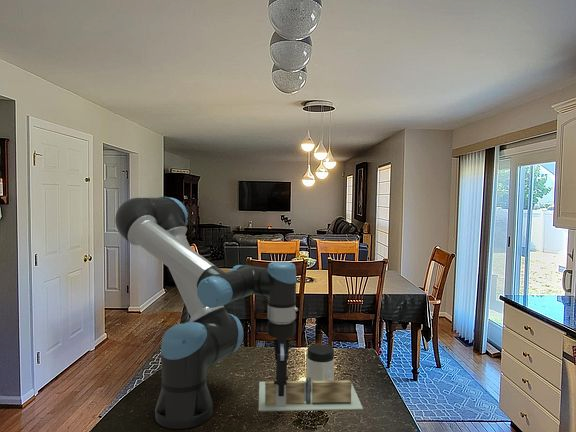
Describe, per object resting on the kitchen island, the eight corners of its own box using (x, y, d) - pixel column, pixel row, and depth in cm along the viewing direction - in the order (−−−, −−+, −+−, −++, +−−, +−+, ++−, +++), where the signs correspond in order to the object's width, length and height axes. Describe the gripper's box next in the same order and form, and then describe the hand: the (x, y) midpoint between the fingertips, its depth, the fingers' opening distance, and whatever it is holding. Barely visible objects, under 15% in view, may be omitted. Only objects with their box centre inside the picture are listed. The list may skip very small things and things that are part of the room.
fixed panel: (312, 402, 118) (312, 383, 118) (312, 400, 120) (312, 380, 119) (351, 402, 119) (351, 382, 119) (350, 399, 120) (350, 380, 120)
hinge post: (305, 405, 118) (306, 379, 118) (305, 402, 120) (305, 377, 119) (310, 405, 118) (311, 379, 118) (310, 402, 120) (310, 377, 119)
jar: (316, 396, 123) (317, 356, 122) (300, 385, 130) (301, 347, 129) (339, 388, 128) (340, 350, 127) (322, 378, 134) (324, 341, 134)
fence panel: (303, 400, 120) (303, 380, 119) (304, 403, 118) (304, 383, 118) (265, 400, 119) (265, 381, 119) (265, 403, 118) (265, 383, 117)
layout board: (258, 411, 115) (258, 409, 115) (259, 382, 132) (259, 381, 132) (363, 409, 116) (363, 408, 116) (350, 381, 133) (350, 380, 133)
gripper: (297, 328, 106) (296, 418, 107) (294, 312, 119) (293, 393, 120) (267, 328, 105) (267, 418, 107) (267, 312, 118) (266, 393, 120)
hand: (280, 405), depth 114 cm, fingers closed
